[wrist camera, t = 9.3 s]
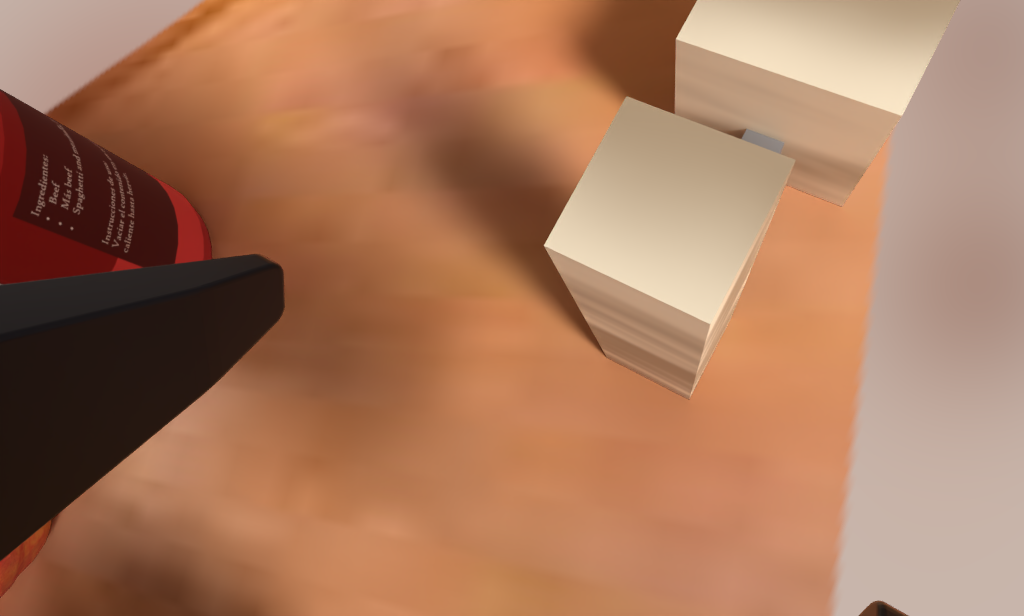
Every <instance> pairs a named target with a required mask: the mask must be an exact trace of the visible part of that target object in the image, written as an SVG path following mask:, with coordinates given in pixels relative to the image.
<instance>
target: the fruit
mask: <svg viewBox="0 0 1024 616" xmlns="http://www.w3.org/2000/svg"><path fill="white" fill-rule="evenodd" d="M50 526H51V520H50V521H49V522H48V523H46V524H45V525H44V526H43V527H41V528H40V529H39V530H38V531H37V532H35V533H34V534H33V535H32V536H30V537H29V538H28V539H27V540H26V541H24V542H23V543H22V544H21V545H20V546H18V547H17V548H16V549H15V550H13V551H12V552H11V553H10V554H9V555H7V556H6V557H5V558H4V559H3V560H1V561H0V598H1V597H2V596H3V595H4V593H5V592H6V591H7V590H8V589H9V588H10V587H11V586H12V584H13V583H14V581H15V580H16V578H17V576H18V575H19V574H20V573H21V572H22V571H23V570H24V569H25V568H26V567H27V566H28V565H29V564H30V563H31V562H32V561H33V560H34V559H35V557H36V556H37V554H38V553H39V551H40V550H41V548H42V547H43V545H44V544H45V542H46V539H47V537H48V534H49V530H50Z"/></svg>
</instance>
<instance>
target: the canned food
mask: <svg viewBox="0 0 1024 616" xmlns="http://www.w3.org/2000/svg"><path fill="white" fill-rule="evenodd" d="M210 259H212V252H211V242H210V238H209V234H208V230H207V228H206V226H205V224H204V222H203V220H202V218H201V217H200V215H199V214H198V213H197V212H196V210H195V209H194V208H193V207H192V205H191V204H190V203H189V202H188V200H187V199H186V198H185V197H184V196H183V195H182V194H181V193H179V192H178V191H176V190H175V189H174V188H172V187H171V186H169V185H167V184H165V183H164V182H162V181H160V180H158V179H157V178H155V177H153V176H151V175H150V174H148V173H146V172H144V171H143V170H141V169H139V168H137V167H136V166H134V165H132V164H130V163H129V162H127V161H125V160H123V159H122V158H120V157H118V156H116V155H115V154H113V153H111V152H109V151H108V150H106V149H104V148H102V147H101V146H99V145H97V144H95V143H94V142H92V141H90V140H88V139H87V138H85V137H83V136H81V135H80V134H78V133H76V132H74V131H73V130H71V129H69V128H67V127H66V126H64V125H62V124H60V123H59V122H57V121H55V120H53V119H52V118H50V117H48V116H46V115H45V114H43V113H41V112H39V111H38V110H36V109H34V108H32V107H31V106H29V105H27V104H25V103H24V102H22V101H20V100H18V99H16V98H15V97H13V96H11V95H9V94H8V93H6V92H4V91H3V90H1V89H0V285H4V284H12V283H20V282H28V281H37V280H45V279H53V278H61V277H70V276H78V275H86V274H94V273H103V272H111V271H119V270H127V269H136V268H144V267H152V266H160V265H169V264H177V263H185V262H194V261H202V260H210Z"/></svg>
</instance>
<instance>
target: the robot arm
mask: <svg viewBox="0 0 1024 616" xmlns="http://www.w3.org/2000/svg"><path fill="white" fill-rule="evenodd" d="M284 307H285V299H284V272H283V269H282V267H281V266H280V265H279V264H278V263H276V262H274V261H272V260H271V259H269V258H267V257H265V256H263V255H260V254H251V255H243V256H235V257H227V258H218V259H210V260H202V261H194V262H185V263H177V264H169V265H160V266H152V267H144V268H136V269H127V270H119V271H111V272H103V273H94V274H86V275H78V276H70V277H61V278H53V279H45V280H37V281H28V282H20V283H12V284H4V285H0V561H1V560H3V559H4V558H5V557H6V556H7V555H9V554H10V553H11V552H12V551H13V550H15V549H16V548H17V547H18V546H20V545H21V544H22V543H23V542H24V541H26V540H27V539H28V538H29V537H30V536H32V535H33V534H34V533H35V532H37V531H38V530H39V529H40V528H41V527H43V526H44V525H45V524H46V523H48V522H49V521H50V520H51V519H52V518H54V517H55V516H56V515H57V514H58V513H60V512H61V511H62V510H63V509H65V508H66V507H67V506H68V505H69V504H71V503H72V502H73V501H74V500H75V499H77V498H78V497H79V496H80V495H82V494H83V493H84V492H85V491H86V490H88V489H89V488H90V487H91V486H93V485H94V484H95V483H96V482H97V481H99V480H100V479H101V478H102V477H103V476H105V475H106V474H107V473H108V472H110V471H111V470H112V469H113V468H114V467H116V466H117V465H118V464H119V463H120V462H122V461H123V460H124V459H125V458H127V457H128V456H129V455H130V454H131V453H133V452H134V451H135V450H136V449H138V448H139V447H140V446H141V445H142V444H144V443H145V442H146V441H147V440H148V439H150V438H151V437H152V436H153V435H155V434H156V433H157V432H158V431H159V430H161V429H162V428H163V427H164V426H165V425H167V424H168V423H169V422H170V421H172V420H173V419H174V418H175V417H176V416H178V415H179V414H180V413H181V412H183V411H184V410H185V409H186V408H187V407H189V406H190V405H191V404H192V403H193V402H195V401H196V400H197V399H198V398H200V397H201V396H202V395H203V394H204V393H205V392H206V391H208V390H209V389H210V388H211V387H212V386H213V385H214V384H215V383H216V382H217V381H219V380H220V379H221V378H222V377H223V376H224V375H225V374H226V373H227V372H228V371H229V370H230V369H231V368H232V367H233V366H234V365H235V364H236V363H237V362H238V361H239V360H240V359H241V358H242V357H243V356H244V355H245V354H246V353H247V352H248V351H249V350H250V349H251V348H252V347H253V346H254V345H255V344H256V343H257V342H258V341H259V340H260V339H261V338H262V337H263V336H264V335H265V334H266V333H267V332H268V331H269V330H270V329H271V328H272V327H273V326H274V325H275V324H276V323H277V321H278V320H279V319H280V317H281V316H282V314H283V311H284ZM859 616H908V615H906V614H905V613H903V612H901V611H899V610H897V609H896V608H893V607H892V606H890V605H888V604H887V603H885V602H883V601H875V602H873V603H871V604H870V605H869V606H868V607H867V608H866V609H865V610H864V611H863V612H862V613H861V614H860V615H859Z"/></svg>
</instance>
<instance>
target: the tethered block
mask: <svg viewBox="0 0 1024 616" xmlns="http://www.w3.org/2000/svg"><path fill="white" fill-rule="evenodd" d="M959 2H960V0H697V2H696V3H695V5H694V7H693V9H692V11H691V12H690V14H689V16H688V18H687V20H686V22H685V23H684V25H683V27H682V29H681V31H680V32H679V34H678V36H677V38H676V61H675V114H673V113H670V112H667V111H665V110H662V109H659V108H657V107H654V106H651V105H649V104H646V103H643V102H641V101H638V100H635V99H633V98H630V97H628V96H626V98H625V100H624V102H623V103H622V105H621V107H620V109H619V111H618V112H617V114H616V116H615V118H614V120H613V121H612V123H611V125H610V127H609V129H608V130H607V132H606V134H605V136H604V138H603V139H602V141H601V143H600V145H599V147H598V149H597V150H596V152H595V154H594V156H593V158H592V159H591V161H590V163H589V165H588V167H587V168H586V170H585V172H584V174H583V176H582V177H581V179H580V181H579V183H578V185H577V186H576V188H575V190H574V192H573V194H572V196H571V197H570V199H569V201H568V203H567V205H566V206H565V208H564V210H563V212H562V214H561V215H560V217H559V219H558V221H557V223H556V224H555V226H554V228H553V230H552V232H551V234H550V235H549V237H548V239H547V241H546V243H545V244H544V247H545V249H546V251H547V252H548V254H549V256H550V258H551V259H552V261H553V263H554V265H555V267H556V268H557V270H558V272H559V274H560V275H561V277H562V279H563V281H564V282H565V284H566V286H567V288H568V290H569V291H570V293H571V295H572V297H573V298H574V300H575V302H576V304H577V306H578V307H579V309H580V311H581V313H582V314H583V316H584V318H585V320H586V322H587V323H588V325H589V327H590V329H591V330H592V332H593V334H594V336H595V337H596V339H597V341H598V343H599V345H600V346H601V348H602V350H603V352H604V353H605V355H606V357H607V358H609V359H611V360H613V361H614V362H616V363H618V364H620V365H622V366H624V367H626V368H628V369H630V370H632V371H634V372H636V373H638V374H640V375H642V376H644V377H646V378H648V379H649V380H651V381H653V382H655V383H657V384H659V385H661V386H663V387H665V388H667V389H669V390H671V391H673V392H675V393H677V394H679V395H681V396H683V397H685V398H686V399H688V400H689V399H690V397H691V395H692V393H693V391H694V389H695V387H696V385H697V383H698V382H699V380H700V378H701V376H702V374H703V372H704V370H705V368H706V366H707V364H708V362H709V360H710V358H711V356H712V354H713V352H714V351H715V349H716V347H717V345H718V343H719V341H720V339H721V337H722V335H723V333H724V331H725V329H726V327H727V325H728V323H729V321H730V319H731V317H732V315H733V312H734V310H735V307H736V305H737V302H738V300H739V298H740V295H741V293H742V290H743V288H744V285H745V283H746V280H747V278H748V276H749V273H750V271H751V268H752V266H753V263H754V261H755V258H756V256H757V254H758V251H759V249H760V246H761V244H762V241H763V239H764V237H765V234H766V232H767V229H768V227H769V224H770V222H771V219H772V217H773V215H774V212H775V210H776V207H777V205H778V202H779V200H780V197H781V195H782V193H783V190H784V188H785V185H787V186H790V187H792V188H795V189H798V190H800V191H803V192H805V193H808V194H810V195H813V196H816V197H818V198H821V199H823V200H826V201H828V202H831V203H833V204H836V205H839V206H841V207H842V206H843V205H844V203H845V202H846V200H847V199H848V197H849V196H850V194H851V192H852V191H853V189H854V188H855V186H856V185H857V183H858V182H859V180H860V179H861V177H862V176H863V174H864V173H865V171H866V170H867V168H868V167H869V165H870V164H871V162H872V161H873V159H874V158H875V156H876V155H877V153H878V152H879V150H880V148H881V147H882V145H883V144H884V142H885V141H886V139H887V138H888V136H889V135H890V133H891V132H892V130H893V129H894V127H895V126H896V124H897V123H898V121H899V120H900V118H901V117H902V115H903V113H904V111H905V109H906V107H907V105H908V103H909V101H910V99H911V97H912V95H913V93H914V91H915V89H916V87H917V85H918V83H919V81H920V79H921V77H922V75H923V73H924V71H925V69H926V67H927V65H928V63H929V61H930V59H931V57H932V55H933V53H934V51H935V49H936V47H937V45H938V43H939V42H940V39H941V38H942V36H943V34H944V31H945V30H946V28H947V26H948V23H949V22H950V20H951V18H952V16H953V14H954V12H955V10H956V8H957V6H958V4H959Z"/></svg>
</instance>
